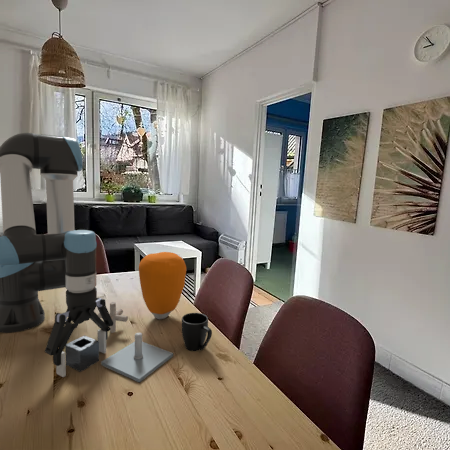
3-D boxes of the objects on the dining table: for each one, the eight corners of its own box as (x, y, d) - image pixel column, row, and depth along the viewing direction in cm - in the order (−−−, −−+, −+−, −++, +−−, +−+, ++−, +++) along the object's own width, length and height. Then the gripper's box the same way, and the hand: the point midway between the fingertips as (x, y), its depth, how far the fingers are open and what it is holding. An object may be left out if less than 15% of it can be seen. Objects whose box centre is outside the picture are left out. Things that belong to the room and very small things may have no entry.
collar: (65, 364, 84) (65, 344, 83) (84, 354, 89) (84, 335, 88) (80, 372, 81) (79, 351, 80) (99, 361, 86) (98, 341, 85)
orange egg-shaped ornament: (170, 305, 127) (172, 246, 123) (193, 320, 114) (195, 255, 110) (130, 315, 116) (131, 250, 112) (150, 333, 103) (152, 261, 99)
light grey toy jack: (118, 340, 97) (118, 311, 96) (90, 336, 99) (90, 307, 98) (133, 326, 107) (133, 299, 106) (108, 322, 109) (107, 295, 107)
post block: (101, 365, 84) (100, 338, 83) (137, 342, 97) (137, 318, 96) (139, 382, 78) (139, 353, 77) (173, 356, 90) (173, 330, 89)
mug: (196, 363, 87) (197, 332, 86) (176, 344, 97) (176, 316, 95) (219, 354, 93) (220, 324, 91) (197, 337, 102) (198, 310, 100)
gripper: (45, 306, 69) (48, 392, 72) (125, 279, 91) (125, 346, 94) (26, 299, 73) (29, 382, 76) (108, 274, 94) (108, 339, 97)
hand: (82, 362), depth 85 cm, fingers open, 12 cm apart
